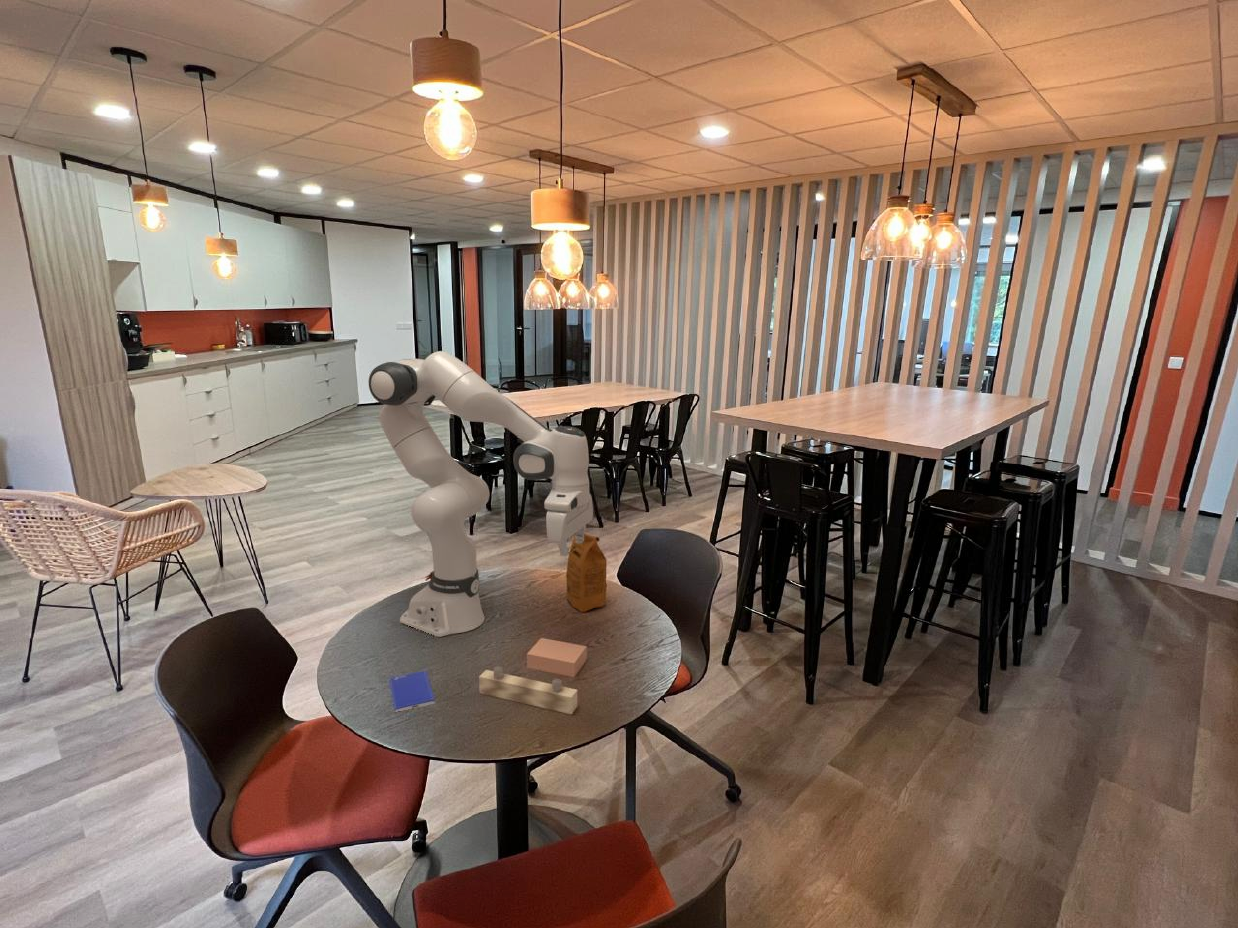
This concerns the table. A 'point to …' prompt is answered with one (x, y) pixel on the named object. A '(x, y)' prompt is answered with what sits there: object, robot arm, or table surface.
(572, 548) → the coffee package
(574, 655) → the terracotta block
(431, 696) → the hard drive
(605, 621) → the table surface
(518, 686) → the stop bar
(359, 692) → the table surface
